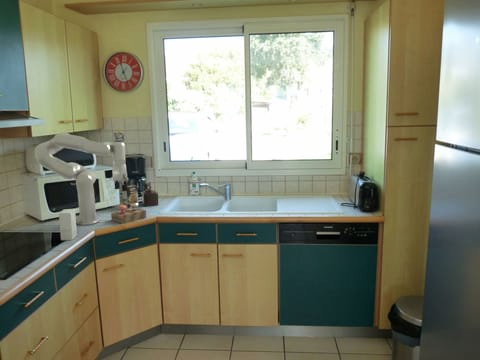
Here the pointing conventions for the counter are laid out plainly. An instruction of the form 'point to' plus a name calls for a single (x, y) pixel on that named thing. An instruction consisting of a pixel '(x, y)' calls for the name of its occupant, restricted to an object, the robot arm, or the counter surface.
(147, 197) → the brown storage container
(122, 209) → the red plunger
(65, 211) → the skincare box
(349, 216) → the counter surface
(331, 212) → the counter surface
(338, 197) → the counter surface
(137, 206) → the grey plunger
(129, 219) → the button box
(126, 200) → the coffee box
